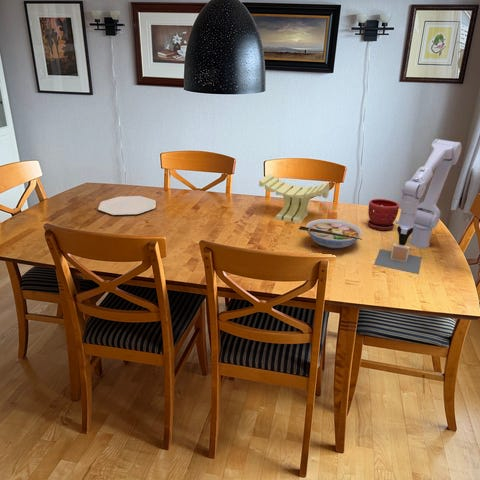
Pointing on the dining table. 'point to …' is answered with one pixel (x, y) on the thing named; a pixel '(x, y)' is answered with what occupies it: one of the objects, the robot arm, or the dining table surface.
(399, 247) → the tile
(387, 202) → the plant pot
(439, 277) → the dining table surface
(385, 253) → the mat
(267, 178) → the slatted curved stool
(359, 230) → the ramen bowl
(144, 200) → the plate
